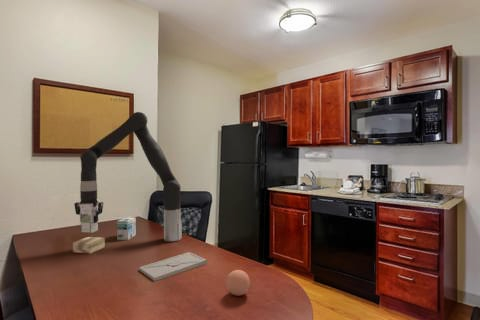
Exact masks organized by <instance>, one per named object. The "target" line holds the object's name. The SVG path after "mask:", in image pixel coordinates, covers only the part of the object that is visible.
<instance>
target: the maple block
mask: <svg viewBox="0 0 480 320" xmlns="http://www.w3.org/2000/svg"><path fill="white" fill-rule="evenodd" d="M105 239H106V238H105V237H98V236H97V237H95V236H94V237H93V236H87V237H84V238H81V239H78V240H76V241H72V253H81V254H92V253H95V252H97V251H99V250H101V249H103V248H106V246H105V244H106V243H105V242H106V241H105Z"/></svg>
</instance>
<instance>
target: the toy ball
mask: <svg viewBox="0 0 480 320" xmlns="http://www.w3.org/2000/svg"><path fill="white" fill-rule="evenodd" d="M225 284H226V288H227V290H228V291H229V293H230V294H232V295H233V296H237V297H238V296H242V295H245V294H246V293H247V291H249V289H250V286H251V280H250V276H249V275H248V274H247V272H245V271H244V270H241V269H235V270H233V271H231V272H230V273H229V274H228V275H227V277H226V281H225Z"/></svg>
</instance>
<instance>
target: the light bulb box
mask: <svg viewBox="0 0 480 320" xmlns="http://www.w3.org/2000/svg"><path fill="white" fill-rule="evenodd" d="M136 221H137V218H136V217H135V216H134V217H129V216H128V217H126V216H125V217H123V218H120V219H119V220H117V221H116V226H117V227H116V228H117V231H116V233H117V234H116V235H117V236H116V238H117V241H128V240H129V241H130V240H131V239H132V238H133V237H135V236H136V233H137V232H136V229H137V228H136V227H137V226H136Z"/></svg>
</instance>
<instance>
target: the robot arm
mask: <svg viewBox="0 0 480 320" xmlns="http://www.w3.org/2000/svg"><path fill="white" fill-rule="evenodd" d="M147 124H148V117H147V115H146V114H145V113H143V112H140V111H135V112H133V113H132V114H131V115H130V116H129V117H128V118H127V119H126V121H124V122H123V123H122V124H121V125H120V126H118V127H117V128H116V129H114V130H112V132H110V133H108V134H107V135H105V136H104V137H103V138H101V139H100V140H98V141H97V142H96V143H95V144H94V145H92V146H91V147H89V148H87V149H85V150H84V151H83V152H82V153H81V154H80V158H79V159H80V167H81V171H80V185H79V186H80V187H79V190H80V191H79V193H80V196H79V197H80V198H79V199H80V201H78V202H77V201H76V202H75V203H73V204H74V210H75V211H74V212H75V215H78V216H79V222H80V223H81V213H80V204H93V207H96V205H97V208H96V209H93V208H92V210H93V214H94V223H97V221H99V215H100V214H102V213H103V209H104V202H103V201H102V202H100V201H98V183H97V181H98V180H97V166H98V165H97V161H98V159H99V158H101V157H102V156H103V155H105V154H107V153H109V152H110V151H112V150H113V149H114V148H116V147H117V146H118V145H119V144H120V143H121V142H122V141H124V139H126V138H127V137H128V136H129V135H131V134H132V133H134V134H135V136H136V137H137V140H138V141H139V143H140V146H141V149H142V151H143V154H144V155H145V157H146V160H147V161H148V163H149V164H150V165H151V166H150V167H152V169H153V170H154V172H155V173H156V174H157V175H158V177H159V178H160V180H161V183H162V186H163V188H162V201H163V202H162V203H163V240H164V241H165V242H176V241H177V242H178V241H180V240H182V237H183V235H182V230H183V229H182V227H183V226H182V225H183V224H182V223H183V222H182V221H181V220H182V219H181V218H182V217H181V216H182V215H181V210H182V209H181V207H182V206H181V189H182V188H181V185H180V183H179V182H178V180H177V178H176V177H175V175H174V173H173V172H172V170H171V167H170V165H169V162H168V160H167V158H166V156H165V154H164V152H163V150H162V148H161V146H160V144H158V142H157V141H156V140H155V139H154V137H153V136H152V135H151V133H150V130H149V128H148V125H147ZM95 211H96V212H95Z"/></svg>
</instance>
